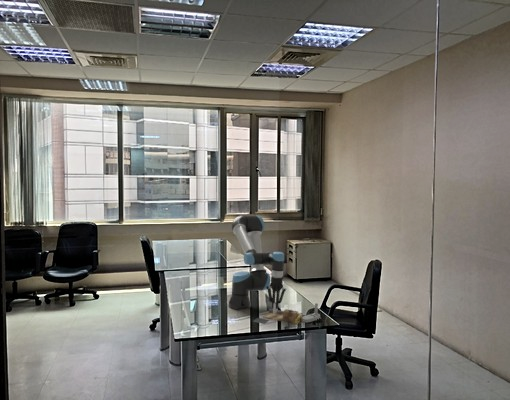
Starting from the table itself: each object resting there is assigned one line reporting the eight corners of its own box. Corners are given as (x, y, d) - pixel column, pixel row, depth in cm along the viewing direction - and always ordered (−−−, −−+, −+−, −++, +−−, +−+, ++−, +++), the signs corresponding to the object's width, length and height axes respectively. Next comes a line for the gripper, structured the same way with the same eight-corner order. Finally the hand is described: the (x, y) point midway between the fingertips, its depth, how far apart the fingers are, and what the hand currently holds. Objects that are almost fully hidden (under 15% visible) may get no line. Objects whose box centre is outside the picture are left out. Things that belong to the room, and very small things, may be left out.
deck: (263, 318, 254) (263, 316, 254) (269, 313, 265) (269, 311, 265) (294, 324, 246) (295, 322, 246) (300, 319, 256) (300, 317, 256)
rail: (263, 318, 254) (263, 312, 254) (269, 313, 265) (269, 308, 264) (296, 324, 246) (297, 319, 246) (301, 319, 256) (302, 314, 256)
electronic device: (300, 306, 254) (316, 302, 263) (299, 321, 254) (315, 316, 264) (306, 308, 249) (322, 304, 259) (305, 324, 250) (321, 319, 260)
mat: (252, 322, 246) (252, 321, 246) (257, 318, 254) (257, 317, 254) (264, 324, 243) (264, 323, 243) (269, 320, 251) (269, 320, 251)
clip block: (282, 320, 251) (283, 310, 251) (285, 318, 255) (285, 308, 255) (294, 323, 248) (295, 312, 248) (297, 320, 252) (297, 310, 252)
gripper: (265, 276, 254) (263, 313, 255) (284, 279, 249) (282, 316, 250) (269, 273, 261) (267, 309, 262) (288, 276, 256) (286, 313, 257)
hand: (274, 313), depth 256 cm, fingers closed
